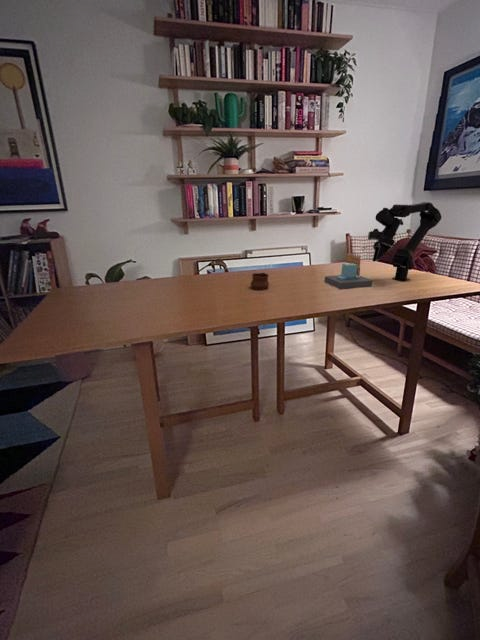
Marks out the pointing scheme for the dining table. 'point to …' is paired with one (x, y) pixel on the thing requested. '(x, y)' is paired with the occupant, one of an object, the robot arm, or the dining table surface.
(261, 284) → the ceramic pot
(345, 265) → the servo
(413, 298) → the dining table surface
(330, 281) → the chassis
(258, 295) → the dining table surface
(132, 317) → the dining table surface
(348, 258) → the ammunition clip
